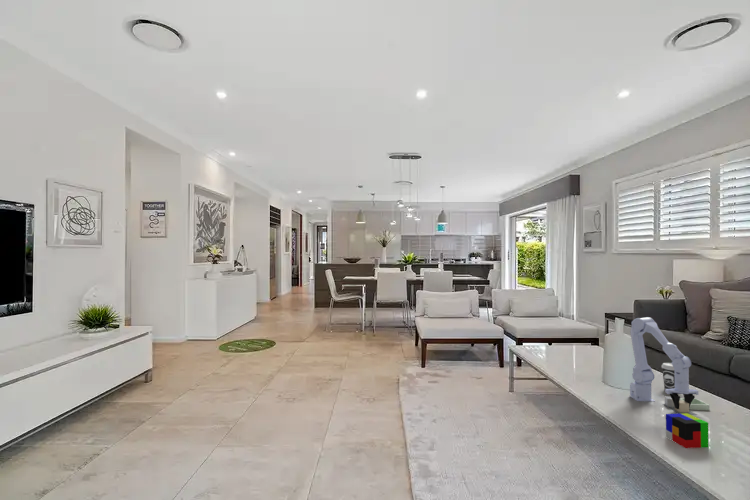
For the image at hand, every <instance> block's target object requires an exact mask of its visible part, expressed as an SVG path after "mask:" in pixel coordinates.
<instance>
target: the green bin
mask: <svg viewBox="0 0 750 500" xmlns="http://www.w3.org/2000/svg"><path fill="white" fill-rule="evenodd" d="M680 400H683V401H684V397H680ZM693 410H696V411H697V410H698V411H710V404H709V403H706V402H705V401H703V400H701V399H699V398H694V399H693V401H692V402H691V404H690V407H689V411H693Z"/></svg>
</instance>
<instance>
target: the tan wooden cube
mask: <svg viewBox="0 0 750 500" xmlns="http://www.w3.org/2000/svg"><path fill="white" fill-rule="evenodd" d="M675 410H677V411H679V412H684V413H689V411H690V409H689V403H687V402H685V401H683V400H679V409H676V408H675Z"/></svg>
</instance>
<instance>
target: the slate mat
mask: <svg viewBox="0 0 750 500" xmlns="http://www.w3.org/2000/svg"><path fill="white" fill-rule="evenodd" d="M662 406H664V407H666V408H668V409H670V410H672V411H673V412H675V414H683V413H684V412H679V411H677V410H675V407H667V406H666V405H665V403H662ZM688 414H690V415H692V416H697V414H696V413H695V412H693V411H692V410H689V413H688Z"/></svg>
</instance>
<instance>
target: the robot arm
mask: <svg viewBox="0 0 750 500" xmlns="http://www.w3.org/2000/svg"><path fill="white" fill-rule="evenodd" d="M629 332H630V337H631V338H630V339H631V345H632V349H633V350H632V351H633V355H634V362H635V365H634V367H632V379H633V381H634V382H631V383H630V384H629V397H630V398H632V399H633V400H635V401H637V402H656V400H655V399H653V398H652V383H653V381H654V380H655V374H654V371H653V369H652V367H651V366H650V365H649V364H648V359H647V354H646V347H645V341H644V337H643V335H644V334H645V333H648V334H651V335H652V336H653V337H654V338H655V340H656V341H658V342H659V344H660V345H662V351H663V352H664V353H665V354H666V356H668V357H669V359H670V360H671V363H672V365H673V367H674V370H675V388H672V389H664V393H665V394H667V395H669V397H671V398H672V400H673V403H674V406H675V408H676V409H679V400H680V398H681V396H680V395H682V396H683V398H684V401H685V402H687V403H689V407H690V404H691V402H692V401H693V399H696V396H699V390H697V389H690V382H689V381H690V379H689V378H690V374H689V373H690V370H689V369H690V367H691V366H692V360H691V358H690V357H688V356H687V355H686V356H685V354H683V353H682V352H681V351H680V349H678V346H677V345H676V344H674V343H672V342H670V341H669V340H668V339H667V338H666V336H665V335H664V333H663V332H662V330H661V329H660V327H659V326H658V323H657V322H656V321H655V320H654V319H653V318H652V317H649V316H646V317H637V318H634V319H633V320H631V328H630V331H629ZM695 395H696V396H695Z"/></svg>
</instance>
